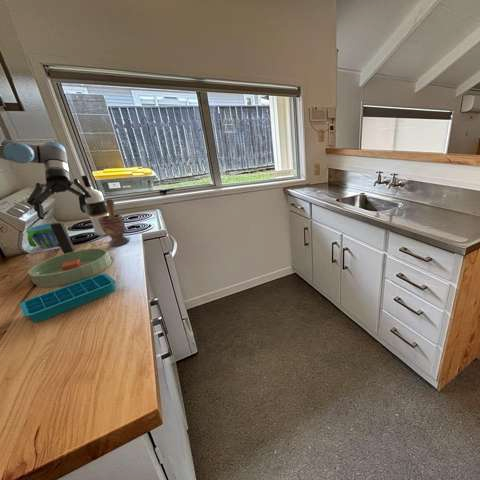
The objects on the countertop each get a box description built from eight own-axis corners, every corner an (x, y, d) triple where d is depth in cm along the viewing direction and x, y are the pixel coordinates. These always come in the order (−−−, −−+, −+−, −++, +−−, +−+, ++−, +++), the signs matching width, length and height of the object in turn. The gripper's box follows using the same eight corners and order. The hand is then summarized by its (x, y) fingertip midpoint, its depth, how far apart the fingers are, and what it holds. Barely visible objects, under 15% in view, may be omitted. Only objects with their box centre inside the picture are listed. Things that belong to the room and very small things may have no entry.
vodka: (119, 232, 136) (98, 174, 125) (97, 237, 130) (73, 177, 118) (115, 229, 142) (94, 173, 130) (94, 234, 136) (70, 176, 124)
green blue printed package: (46, 253, 113) (35, 232, 109) (23, 254, 114) (12, 233, 110) (77, 240, 128) (69, 220, 124) (57, 241, 128) (48, 221, 124)
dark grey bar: (67, 262, 104) (50, 224, 98) (69, 259, 106) (52, 223, 100) (77, 259, 106) (60, 223, 99) (78, 257, 108) (62, 221, 102)
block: (66, 278, 90) (60, 267, 88) (69, 273, 93) (63, 262, 92) (82, 274, 92) (77, 263, 90) (84, 269, 96) (79, 259, 94)
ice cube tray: (119, 290, 82) (116, 282, 81) (30, 326, 67) (24, 317, 66) (108, 279, 88) (105, 272, 87) (24, 311, 74) (19, 302, 73)
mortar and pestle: (106, 242, 123) (90, 201, 116) (128, 237, 129) (114, 197, 121) (109, 248, 115) (92, 205, 108) (132, 242, 121) (117, 201, 113)
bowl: (25, 296, 81) (17, 282, 79) (45, 269, 98) (39, 258, 96) (109, 275, 92) (103, 262, 90) (114, 254, 109) (110, 243, 107)
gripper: (96, 174, 122) (103, 212, 116) (24, 183, 111) (28, 225, 105) (88, 164, 115) (95, 203, 109) (12, 171, 105) (15, 216, 99)
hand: (62, 214), depth 107 cm, fingers open, 13 cm apart
